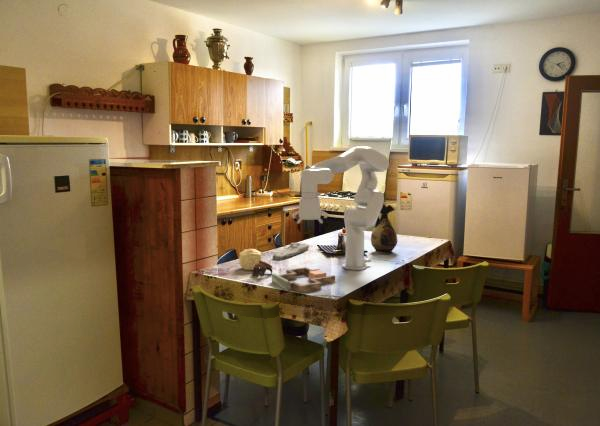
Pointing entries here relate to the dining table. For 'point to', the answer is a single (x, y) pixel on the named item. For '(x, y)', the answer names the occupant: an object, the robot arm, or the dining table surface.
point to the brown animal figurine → (261, 268)
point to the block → (316, 274)
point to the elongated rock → (291, 251)
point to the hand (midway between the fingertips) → (309, 231)
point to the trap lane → (298, 273)
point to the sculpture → (249, 258)
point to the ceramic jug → (384, 233)
